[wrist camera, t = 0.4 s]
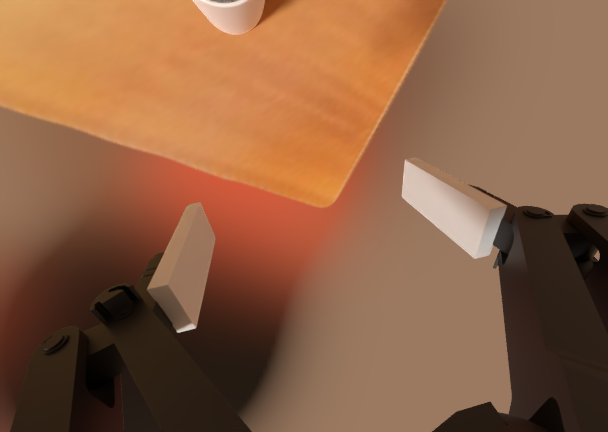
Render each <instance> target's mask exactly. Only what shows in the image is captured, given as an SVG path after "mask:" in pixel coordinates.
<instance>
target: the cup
mask: <svg viewBox="0 0 608 432" xmlns="http://www.w3.org/2000/svg"><path fill="white" fill-rule="evenodd" d="M193 2H194V3H195V4H196V5H197V6H198V8H199V9H200V10H201V11H202V12H203V14H204V15H205V16H206V17H207V18H208V20H209V21H210V22H211V23H212V24H213V25H214V26H215V27H217V28H218V29H220V30H221V31H223V32H225V33H228V34H233V35H240V34H244V33H247V32H249V31H250V30H252V29H253V28H254V27H255V26H256V25H257V23H258V22H259V20H260V18H261V16H262V13H263V9H264V4H265V0H193Z"/></svg>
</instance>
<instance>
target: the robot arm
mask: <svg viewBox="0 0 608 432" xmlns="http://www.w3.org/2000/svg"><path fill="white" fill-rule="evenodd" d="M402 198H404V199H405V200H406V201H407V202H408V203H409V204H411V205H412V206H413V207H414V208H415V209H416V210H418V211H419V212H420V213H421V214H423V215H424V216H425V217H426V218H427V219H428V220H429V221H431V222H432V223H433V224H434V225H435V226H437V227H438V228H439V229H440V230H441V231H443V232H444V233H445V234H446V235H447V236H448V237H450V238H451V239H452V240H453V241H454V242H455V243H457V244H458V245H459V246H460V247H461V248H463V249H464V250H465V251H466V252H467V253H469V254H470V255H471V256H472V257H473V258H474V259H475V258H480V257H484V256H488V255H490V252H491V249H492V246H493V245H494V246H496V247H497V248H498V249H500V250H499V253H498V255H497V258H496V261H495V263H494V266H493V268H496V267H497V265H498V266H499V275H500V285H501V294H502V303H503V312H504V313H503V314H504V323H505V333H506V342H507V352H508V361H509V371H510V380H511V390H512V402H511V406H510V411H509V414H504V413H498V412H497V410H496V409H495V408H494V406H493V405H492V403H491V402H487V403H484V404H481V405H477V406H474V407H471V408H467V409H464V410H461V411H458V412H456V413H454V414H453V415H452V416H451V417H449V418H448V419H447V420H446V421H445V422H443V423H442V424H441V425H440V426H439V427H437V428H436V429H435V430H434V431H432V432H608V208H605V207H603V206H600V205H595V204H578V205H575V206H573V208H572V209H571V211H570V213H569V215H554V214H553V213H551V212H550V211H548V210H545V209H542V208H539V207H532V206H522V207H518V208H517V207H516V206H514V205H512V204H510V203H508V202H506V201H504V200H502V199H500V198H498V197H496V196H494V195H492V194H490V193H487V192H486V191H484V190H483V189H480V188H479V187H475V186H472V185H468V184H465V183H463V182H462V181H460V180H458V179H456V178H454V177H452V176H450V175H448V174H447V173H445V172H443V171H441V170H439V169H437V168H435V167H433V166H431V165H429V164H428V163H426V162H424V161H422V160H420V159H418V158H411V159H406V160H405V166H404V177H403V188H402ZM215 239H216V238H215V236H214V233H213V231H212V229H211V226H210V224H209V221H208V219H207V217H206V215H205V212H204V210H203V208H202V205H201V203H200V202H199V203H195V204H190V205H187V207H186V209H185V211H184V214H183V215H182V217H181V219H180V222H179V224H178V226H177V228H176V230H175V232H174V234H173V236H172V238H171V240H170V242H169V244H168V246H167V248H166V251H165V252H164V253H159V254H157V255H155V257H153V259H151V260H150V261H149V263H148V265H147V267H146V268H145V271H144V272H143V274H142V276H141V278H140V280H139V281H138V284H137V285H136V287H135V288H134V287H133V286H132V285H131V284H129V283H121V284H118V285H115V286H113V287H110V288H108V289H107V290H105V291H104V292H102V293H101V294H100V295H99V296H98V297H97V298H96V299H95V300H94V301H93V303H92V305H91V307H90V308H91V312H92V313H93V314H94V315H95V316H96V317H97V318H98V319H99V320H100V321H101V322H102V324H100V325H98V326H95V327H93V328H91V329H89V330H87V331H85V332H82V331H81V330H80V329H79V328H78V327H75V326H72V327H66V328H63V329H61V330H58V331H57V332H55V333H54V334H52V335H50V336H49V337H47V338H46V339H45V340H44V341H43V342H41V343H40V345H39V346H38V347H37V348H36V349H35V350H34V353H33V354H32V356H31V359H30V362H29V366H28V369H27V373H26V377H25V380H24V384H23V387H22V391H21V394H20V398H19V402H18V405H17V409H16V412H15V416H14V420H13V423H12V427H11V430H10V432H124V424H123V407H122V391H121V373H122V372H124V371H126V370H128V369H129V371H130V373H131V375H132V377H133V379H134V380H135V382H136V384H137V386H138V388H139V390H140V392H141V394H142V395H143V397H144V399H145V401H146V403H147V405H148V407H149V408H150V410H151V412H152V414H153V416H154V418H155V419H156V421H157V423H158V425H159V427H160V429H161V431H162V432H251V430H250V429H249V428H248V427H247V426H246V424H245V423H244V422H243V421H242V420H241V418H240V417H239V416H238V415H237V413H236V412H235V411H234V410H233V408H232V407H231V406H230V405H229V404H228V402H227V401H226V400H225V399H224V397H223V396H222V395H221V394H220V393H219V391H218V390H217V389H216V388H215V386H214V385H213V384H212V383H211V382H210V380H209V379H208V378H207V377H206V376H205V374H204V373H203V372H202V371H201V369H200V368H199V367H198V366H197V365H196V363H195V362H194V361H193V360H192V358H190V356H189V355H188V354H187V352H186V351H185V350H184V349H183V348H182V346H181V345H180V344H179V343H178V341H177V340H176V339H175V338H174V337H173V335H172V334H171V333H170V330H171V327H172V325H173V326H174V328H175V329H176V331H177V332H182V331H187V330H191V329H195V328H196V326H197V321H198V317H199V312H200V308H201V303H202V299H203V294H204V289H205V285H206V280H207V276H208V271H209V267H210V262H211V257H212V252H213V248H214V243H215ZM598 250H599V253H600V259H599V261H598V260H597V259H596V258H595V257H594V255H595V254H596V252H597V251H598Z"/></svg>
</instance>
